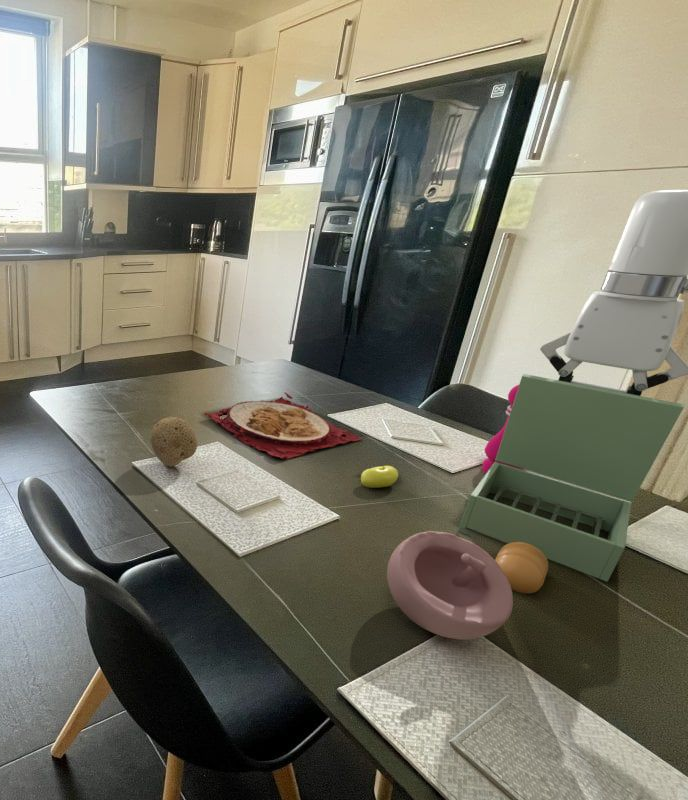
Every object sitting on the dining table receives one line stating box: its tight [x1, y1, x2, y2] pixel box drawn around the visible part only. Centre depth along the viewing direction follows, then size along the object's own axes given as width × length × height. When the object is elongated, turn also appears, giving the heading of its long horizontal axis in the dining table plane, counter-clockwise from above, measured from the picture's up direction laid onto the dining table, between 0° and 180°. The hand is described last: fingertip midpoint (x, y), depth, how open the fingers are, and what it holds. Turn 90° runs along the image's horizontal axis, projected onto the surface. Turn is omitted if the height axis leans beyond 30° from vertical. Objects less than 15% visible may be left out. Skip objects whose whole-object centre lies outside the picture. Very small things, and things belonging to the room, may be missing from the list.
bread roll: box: [494, 542, 549, 595], centre depth 65 cm, size 9×5×5 cm, turn 131°
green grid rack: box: [492, 485, 605, 537], centre depth 76 cm, size 14×13×3 cm
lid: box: [496, 373, 685, 502], centre depth 75 cm, size 17×17×5 cm
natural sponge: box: [149, 416, 198, 468], centre depth 94 cm, size 9×9×10 cm
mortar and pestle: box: [386, 530, 514, 640], centre depth 58 cm, size 12×12×11 cm
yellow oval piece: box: [360, 465, 399, 489], centre depth 89 cm, size 4×8×4 cm, turn 106°
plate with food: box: [204, 391, 363, 460], centre depth 112 cm, size 24×26×3 cm
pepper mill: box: [481, 375, 539, 474], centre depth 91 cm, size 7×7×20 cm
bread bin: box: [457, 462, 633, 583], centre depth 75 cm, size 17×17×7 cm
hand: (590, 405), depth 74 cm, fingers closed on lid, 6 cm apart
